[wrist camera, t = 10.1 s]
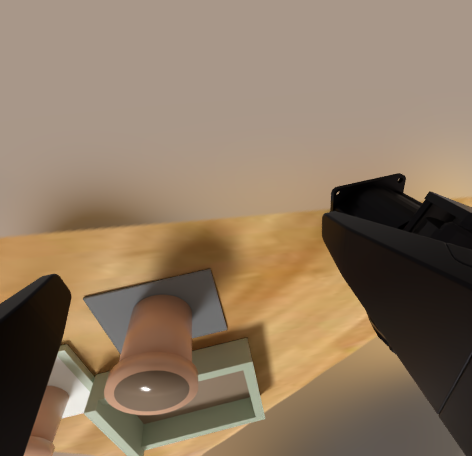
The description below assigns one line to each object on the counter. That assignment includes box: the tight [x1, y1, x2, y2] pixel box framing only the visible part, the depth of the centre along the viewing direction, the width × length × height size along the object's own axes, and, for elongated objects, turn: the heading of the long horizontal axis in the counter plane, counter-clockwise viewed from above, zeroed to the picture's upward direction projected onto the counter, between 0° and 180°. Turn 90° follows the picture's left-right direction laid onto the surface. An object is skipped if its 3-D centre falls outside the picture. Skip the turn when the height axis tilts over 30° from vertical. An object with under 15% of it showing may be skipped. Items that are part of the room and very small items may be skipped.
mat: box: [83, 269, 227, 354], centre depth 26 cm, size 12×9×1 cm
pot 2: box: [104, 295, 198, 415], centre depth 23 cm, size 7×7×7 cm
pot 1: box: [24, 385, 69, 456], centre depth 27 cm, size 6×6×6 cm
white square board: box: [48, 344, 95, 418], centre depth 29 cm, size 10×12×1 cm
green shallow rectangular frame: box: [84, 338, 265, 456], centre depth 32 cm, size 18×14×4 cm
